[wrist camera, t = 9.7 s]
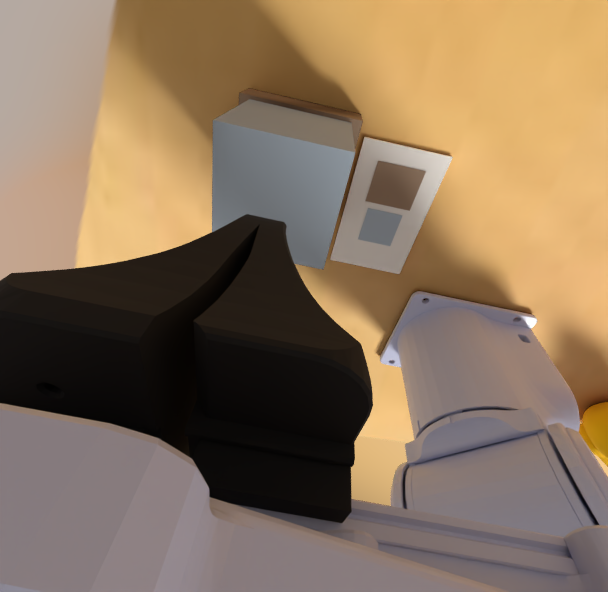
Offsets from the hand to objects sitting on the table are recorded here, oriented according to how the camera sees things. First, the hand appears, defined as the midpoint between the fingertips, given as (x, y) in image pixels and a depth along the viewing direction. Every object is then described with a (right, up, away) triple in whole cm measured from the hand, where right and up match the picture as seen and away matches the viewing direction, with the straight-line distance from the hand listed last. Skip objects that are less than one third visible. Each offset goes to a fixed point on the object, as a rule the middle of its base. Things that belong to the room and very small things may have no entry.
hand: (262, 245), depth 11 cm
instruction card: (+6, +4, +9) cm, 12 cm away
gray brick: (+1, +5, +6) cm, 8 cm away
